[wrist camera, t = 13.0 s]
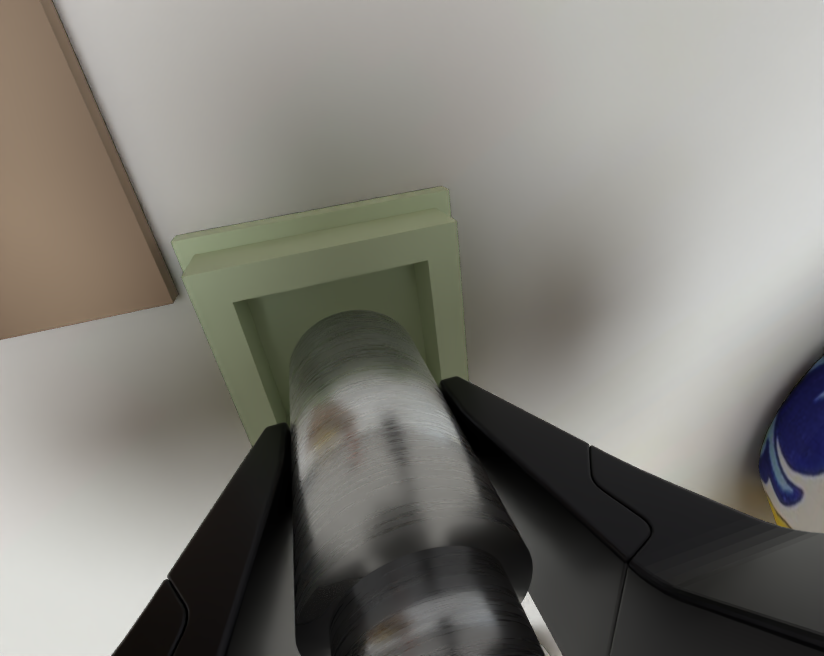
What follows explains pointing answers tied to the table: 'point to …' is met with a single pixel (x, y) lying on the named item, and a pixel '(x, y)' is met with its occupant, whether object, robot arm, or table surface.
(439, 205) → the tray
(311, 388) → the chrome stepped cylinder
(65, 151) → the socket block
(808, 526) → the table lamp
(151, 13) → the table surface
